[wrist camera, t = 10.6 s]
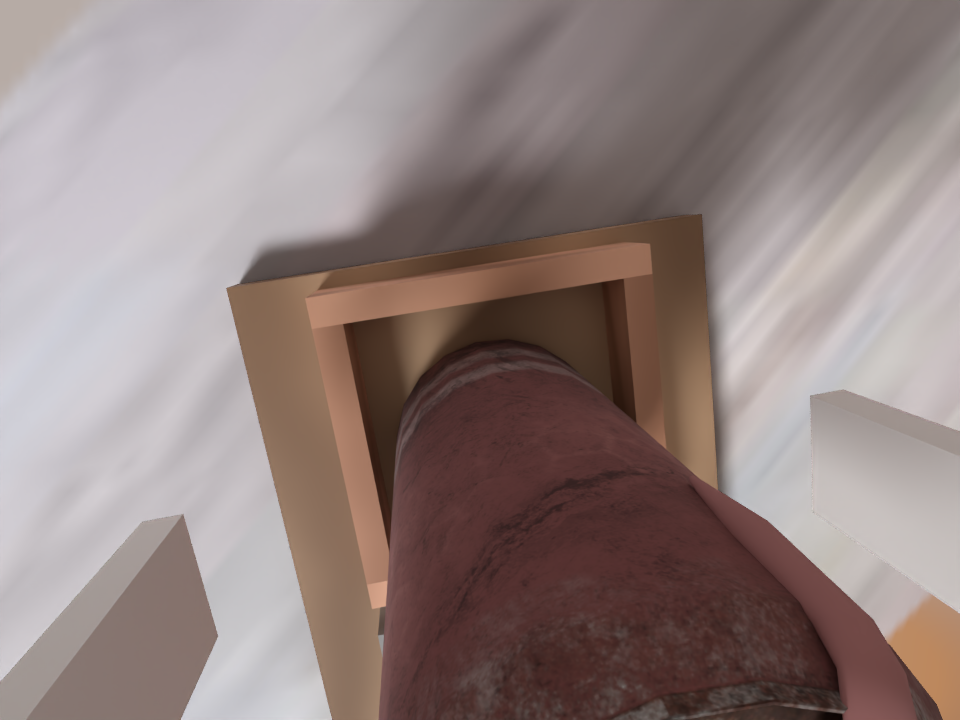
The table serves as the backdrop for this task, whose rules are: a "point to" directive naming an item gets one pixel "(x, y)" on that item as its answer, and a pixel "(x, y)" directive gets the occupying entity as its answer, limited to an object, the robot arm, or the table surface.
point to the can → (599, 571)
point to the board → (421, 344)
